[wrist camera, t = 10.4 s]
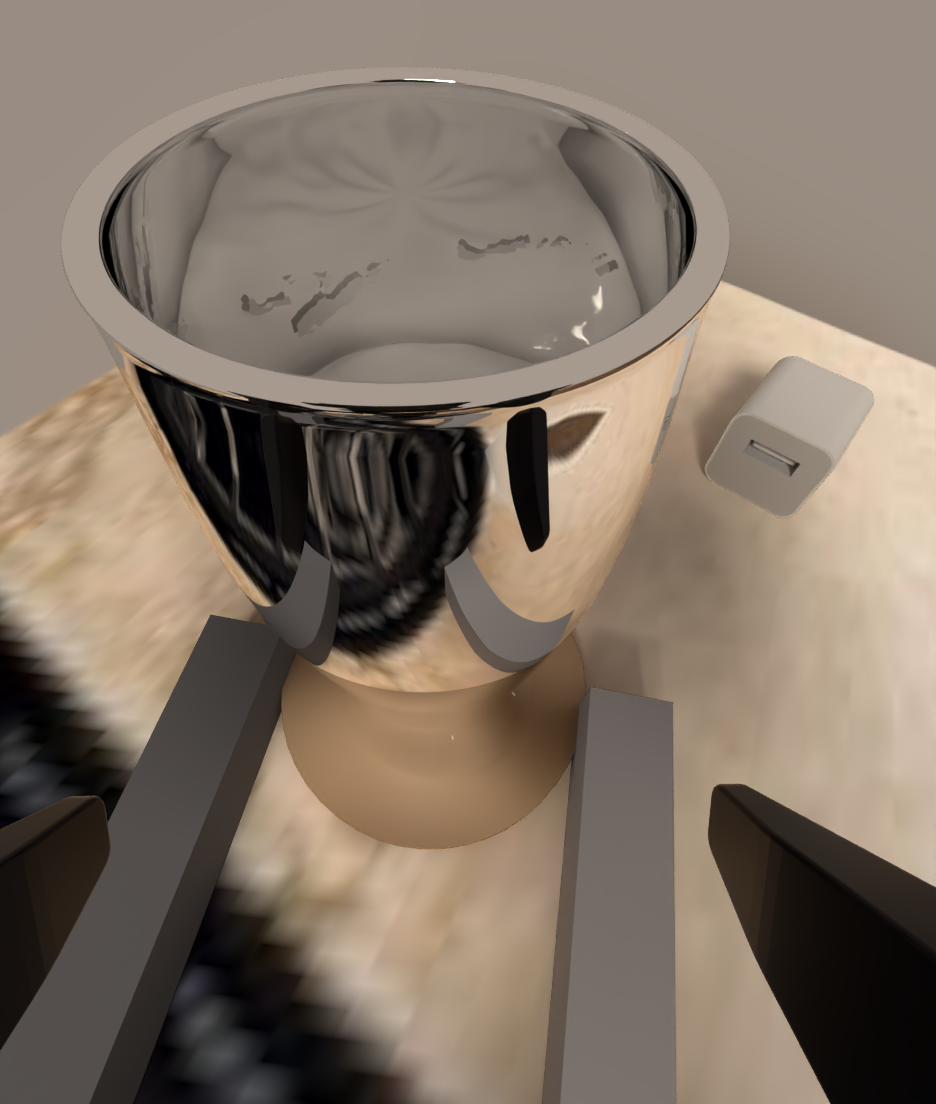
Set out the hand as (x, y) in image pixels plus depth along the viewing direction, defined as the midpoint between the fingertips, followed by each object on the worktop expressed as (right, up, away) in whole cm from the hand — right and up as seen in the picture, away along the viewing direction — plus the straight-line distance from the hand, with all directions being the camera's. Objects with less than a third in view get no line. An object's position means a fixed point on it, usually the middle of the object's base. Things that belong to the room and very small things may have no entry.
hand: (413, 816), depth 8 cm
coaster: (0, -1, +11) cm, 11 cm away
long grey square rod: (-7, -5, +8) cm, 12 cm away
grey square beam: (+4, -7, +7) cm, 11 cm away
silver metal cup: (0, -1, +10) cm, 10 cm away
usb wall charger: (+15, +8, +17) cm, 24 cm away
